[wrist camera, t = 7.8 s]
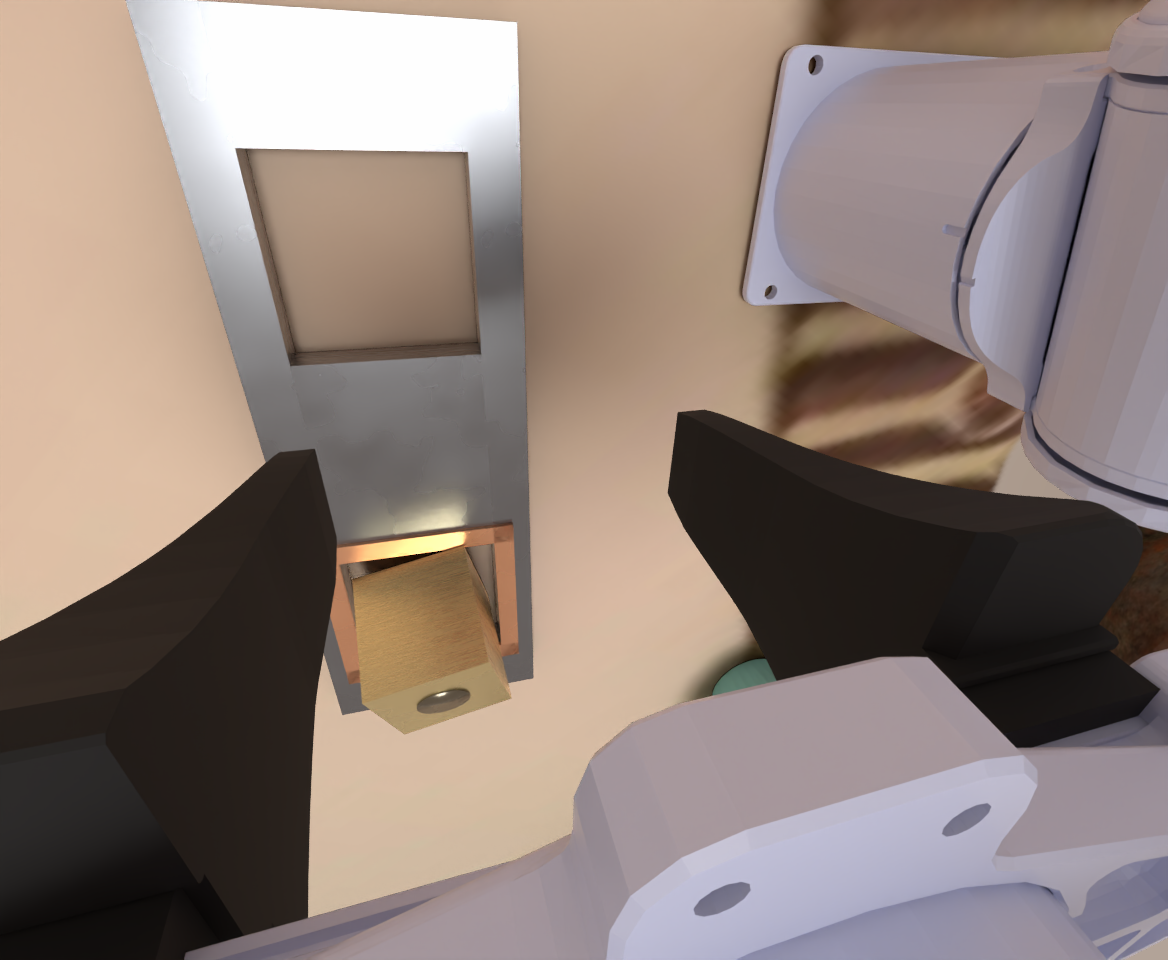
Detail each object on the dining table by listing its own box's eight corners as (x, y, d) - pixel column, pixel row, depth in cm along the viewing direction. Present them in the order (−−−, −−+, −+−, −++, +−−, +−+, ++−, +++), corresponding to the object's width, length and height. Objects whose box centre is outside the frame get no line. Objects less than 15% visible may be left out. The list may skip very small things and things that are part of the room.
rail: (509, 27, 16) (518, 21, 15) (529, 659, 30) (534, 681, 29) (142, 2, 14) (120, -6, 13) (344, 693, 28) (342, 718, 27)
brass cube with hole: (463, 545, 24) (489, 664, 21) (487, 593, 27) (511, 699, 24) (352, 579, 23) (362, 705, 20) (391, 623, 27) (404, 736, 24)
